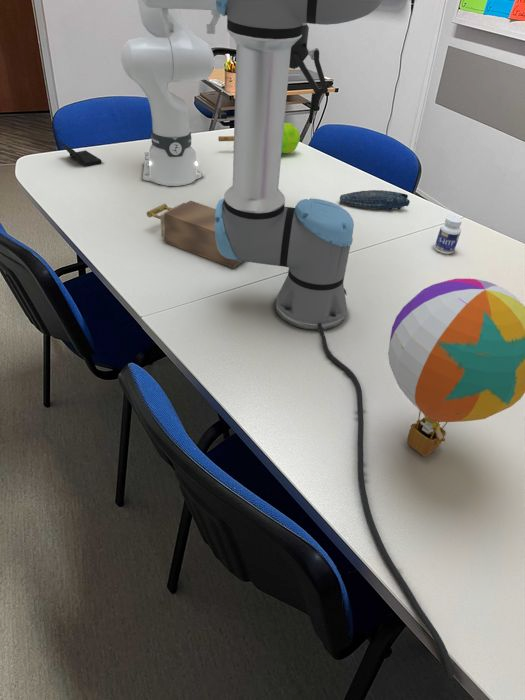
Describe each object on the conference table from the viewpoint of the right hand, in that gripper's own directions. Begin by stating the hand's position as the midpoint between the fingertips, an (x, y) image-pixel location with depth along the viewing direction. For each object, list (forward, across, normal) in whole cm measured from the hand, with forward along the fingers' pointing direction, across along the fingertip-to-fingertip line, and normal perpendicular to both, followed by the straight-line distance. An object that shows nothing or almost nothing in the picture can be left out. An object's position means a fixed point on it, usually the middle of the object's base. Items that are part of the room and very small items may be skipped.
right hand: (283, 119), depth 133 cm
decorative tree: (+26, +7, -53) cm, 60 cm away
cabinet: (+26, +16, +23) cm, 38 cm away
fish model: (+26, -30, -13) cm, 42 cm away
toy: (+27, -26, +84) cm, 92 cm away
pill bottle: (+26, -46, +13) cm, 55 cm away
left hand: (-18, +23, +8) cm, 30 cm away
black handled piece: (+26, +65, -30) cm, 76 cm away
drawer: (+25, +20, +20) cm, 38 cm away
